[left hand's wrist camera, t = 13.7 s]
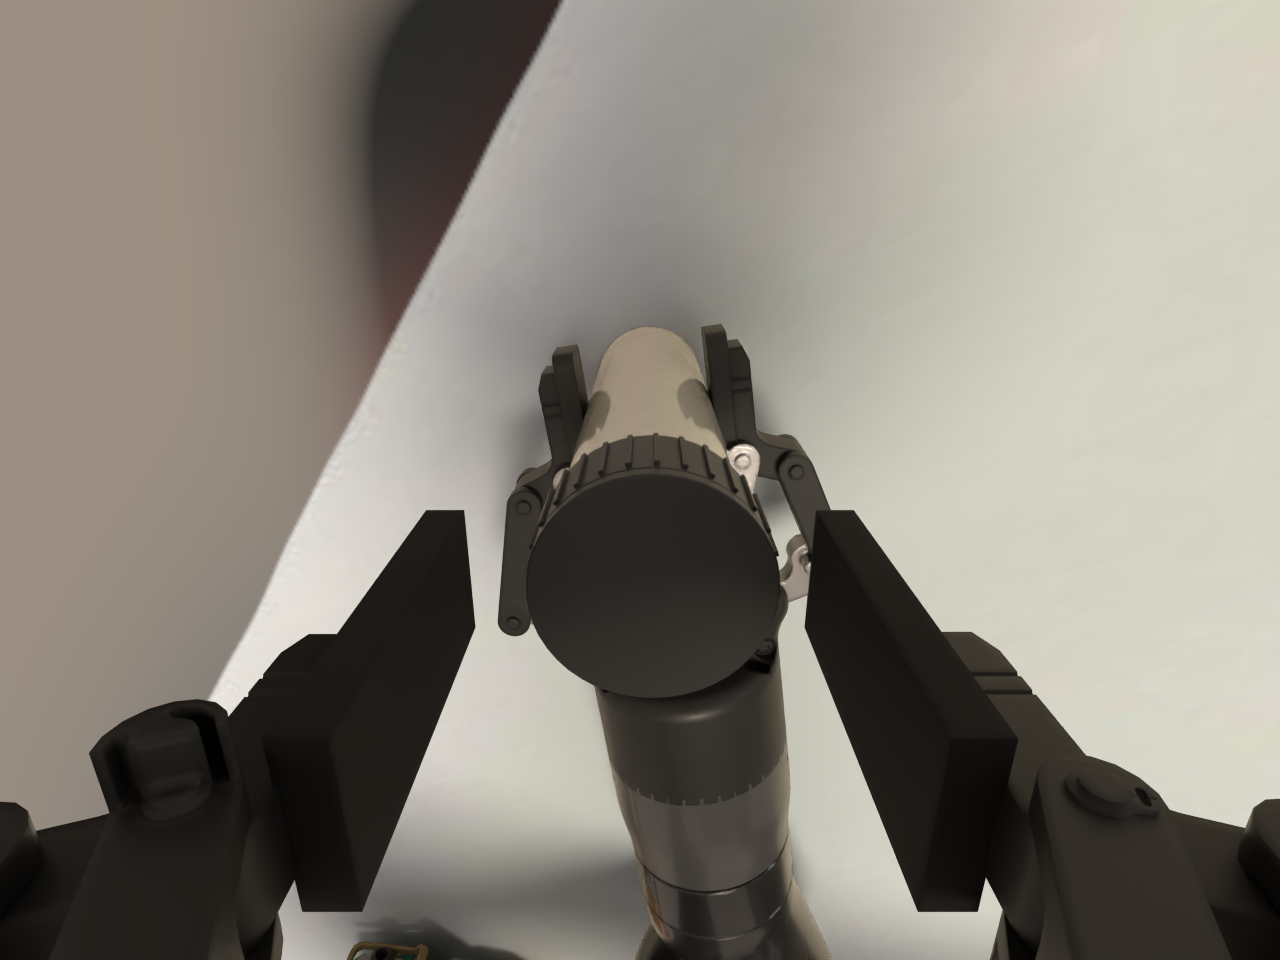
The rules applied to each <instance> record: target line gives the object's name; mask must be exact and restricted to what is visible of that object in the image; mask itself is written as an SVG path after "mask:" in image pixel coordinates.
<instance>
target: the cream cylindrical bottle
mask: <svg viewBox="0 0 1280 960" xmlns="http://www.w3.org/2000/svg"><path fill="white" fill-rule="evenodd" d="M653 433H659V436H670V437H675V438H679V436H683V437H684V439H685V440H687V441H690V442H694V443H696V444H698V445H701V446H703V444H705V445H707V446H708V447H709V450H711V451H712V452H714V453H716V454H717V455H719V456H720V457H722V458H723V459H724V458H725V457H726V458H728V459H729V461H730V464H731V466H732V467H733V465H732V462H731V459H730V456H729V453H728V450H727V447H726V444H725V442H724V439H723V436H722V433H721V430H720V427H719V424H718V421H717V418H716V415H715V412H714V409H713V406H712V403H711V400H710V397H709V394H708V391H707V388H706V385H705V382H704V379H703V376H702V373H701V370H700V367H699V364H698V362H697V359H696V356H695V354H694V352H693V351H692V349H691V348H690V346H689V345H688V344H687V343H686V342H685V341H684V340H683V339H682V338H681V337H680V336H678V335H677V334H675V333H673V332H671V331H669V330H666V329H663V328H658V327H641V328H636V329H633V330H630V331H628V332H626V333H624V334H622V335H621V336H620V337H618V338H617V339H616V340H615V341H614V342H613V343H612V344H611V345H610V346H609V347H608V349H607V351H606V352H605V354H604V356H603V358H602V361H601V364H600V368H599V371H598V374H597V378H596V381H595V384H594V388H593V391H592V394H591V398H590V401H589V404H588V407H587V411H586V414H585V417H584V421H583V424H582V427H581V431H580V434H579V437H578V441H577V444H576V447H575V451H574V454H573V457H572V460H571V464H570V467H569V469H570V468H571V467H572V466H573V465H574V464H576V463H577V462H578V461H579V460H580V457H581V455H582V454H584V453H585V454H586V455H587V454H589V453H590V452H592V451H593V450H595V449H598V448H600V447H602V445H603V443H604V442H606V441H608V443H611V442H614V441H617V440H620V439H624V438H627V436H628V435H633V437H634V436H645V435H653Z"/></svg>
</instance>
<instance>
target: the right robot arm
mask: <svg viewBox="0 0 1280 960" xmlns="http://www.w3.org/2000/svg"><path fill="white" fill-rule="evenodd" d="M701 333H702V342H703V351H704V360H705V369H706V378H707V387H708V394H709V397H710V400H711V403H712V406H713V409H714V412H715V415H716V418H717V421H718V424H719V427H720V430H721V433H722V436H723V439H724V442H725V444H726V447H727V450H728V453H729V456H730V459H731V462H732V465H733V468H734V469H735V470H736V471H737V472H738V473H739V474H740V475H742V474H744V475H745V476H746V479H747V481H748V484H749V487H750V489H751V492H752V495H753V491H754V487H755V482H756V478H757V476H759V477H764V478H769V479H774V480H779V482H780V484H781V487H782V489H783V492H784V494H785V496H786V499H787V501H788V504H789V506H790V508H791V511H792V513H793V516H794V518H795V520H796V523H797V525H798V528H799V530H800V532H801V534H799V535H795V536H794V537H793V538H792V539H791V540H790V541H789V542H788V544H787V547H786V552H787V562H786V564H785V566H784V567H783V568H782V569H781V570H779V573H780V597H779V604H778V609H777V612H776V616H775V619H774V622H773V624H772V626H771V628H770V630H769V633H768V634H767V636H766V638H765V639H764V641H763V642H762V644H761V646H760V647H759V648H758V649H757V651H756V652H755V653H754V654H753V655H752V657H751V658H750V659H749V660H748V661H746V662H745V663H744V664H743V665H742V666H741V667H740V668H739V669H737V670H736V671H735V672H733V673H732V674H730V675H729V676H728V677H726V678H724V679H722V680H721V681H719V682H717V683H715V684H713V685H711V686H708V687H706V688H703V689H701V690H698V691H695V692H691V693H688V694H684V695H678V696H672V697H661V698H645V697H634V696H627V695H622V694H618V693H614V692H611V691H607V690H605V689H602V688H600V687H597V686H595V685H594V686H595V691H596V696H597V700H598V705H599V710H600V715H601V720H602V725H603V730H604V735H605V740H606V745H607V750H608V755H609V760H610V765H611V769H612V774H613V779H614V784H615V789H616V794H617V798H618V802H619V806H620V809H621V813H622V816H623V818H624V821H625V824H626V826H627V829H628V831H629V833H630V836H631V839H632V843H633V848H634V853H635V858H636V863H637V868H638V873H639V878H640V883H641V888H642V893H643V897H644V902H645V906H646V909H647V912H648V915H649V917H650V920H651V924H650V925H649V926H648V928H647V930H646V932H645V934H644V936H643V938H642V941H641V943H640V946H639V949H638V951H637V954H636V957H635V960H832V958H831V956H830V953H829V950H828V948H827V945H826V943H825V941H824V939H823V937H822V934H821V932H820V930H819V928H818V926H817V924H816V922H815V920H814V918H813V916H812V913H811V911H810V909H809V907H808V905H807V903H806V900H805V898H804V896H803V894H802V891H801V889H800V888H799V886H798V884H797V882H796V880H795V878H794V876H793V868H792V855H791V845H790V834H789V823H788V810H789V801H790V770H789V759H788V749H787V738H786V726H785V714H784V703H783V692H782V681H781V670H780V659H779V648H778V631H779V628H780V625H781V623H782V621H783V619H784V617H785V615H786V613H787V610H788V602H791V601H793V600H796V599H799V598H801V597H804V596H807V595H808V587H809V577H810V567H811V556H812V546H813V535H814V525H815V515H816V510H831V509H830V507H829V504H828V502H827V499H826V497H825V494H824V492H823V489H822V487H821V484H820V482H819V479H818V476H817V474H816V471H815V469H814V466H813V464H812V462H811V461H810V459H809V458H808V456H807V454H806V453H805V451H804V450H803V448H802V447H801V445H800V444H799V442H798V441H797V440H796V438H794V437H793V436H791V435H787V434H783V435H779V436H775V435H770V434H765V433H762V432H760V431H759V430H757V429H756V425H755V414H754V403H753V392H752V381H751V370H750V360H749V358H748V356H747V355H746V353H745V351H744V349H743V347H742V345H741V344H740V343H739V341H738V340H737V339H735V340H728V341H727V336H726V332H725V329H724V328H723V326H722V325H721V324H719V325H712V326H705V327H701ZM552 362H553V365H552V366H547V367H546V368H545V370H544V371H543V373H542V374H541V379H540V384H539V389H538V391H539V396H540V401H541V405H542V411H543V415H544V420H545V425H546V430H547V435H548V440H549V445H550V450H551V455H552V459H551V460H550V461H549V462H548V463H546V464H544V465H542V466H540V467H538V468H528V469H526V470H524V471H523V472H522V473H521V475H520V476H519V478H518V481H517V485H516V488H515V490H514V491H513V492H512V493H511V495H510V497H509V499H508V502H507V510H506V523H505V535H504V548H503V561H502V574H501V587H500V600H499V613H498V625H499V627H500V629H501V630H502V631H503V632H504V633H506V634H508V635H511V636H519V635H522V634H524V633H525V632H526V631H527V630H528V629H529V626H530V624H533V622H532V619H531V616H530V613H529V610H528V605H527V599H526V573H525V568H526V565H527V562H528V559H529V556H530V553H531V549H528V548H529V544H530V541H531V538H532V536H533V533H534V530H535V527H536V524H537V521H538V519H539V516H540V513H541V510H542V509H543V508H544V505H545V502H546V499H547V496H548V493H549V491H550V489H551V488H553V489H555V488H556V486H557V484H558V483H559V481H560V479H561V476H562V473H563V471H564V470H565V469H567V470H569V467H570V464H571V460H572V457H573V454H574V451H575V447H576V444H577V441H578V437H579V434H580V431H581V427H582V424H583V421H584V417H585V414H586V411H587V407H588V404H589V403H588V397H587V392H586V386H585V380H584V375H583V369H582V364H581V358H580V353H579V349H578V346H577V345H572V346H565V347H558V348H557V349H556V350H555V352H554V353H553V356H552Z"/></svg>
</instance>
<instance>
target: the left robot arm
mask: <svg viewBox="0 0 1280 960" xmlns="http://www.w3.org/2000/svg"><path fill="white" fill-rule="evenodd" d="M474 629H475V618H474V608H473V598H472V587H471V577H470V567H469V556H468V546H467V535H466V525H465V515H464V510H426V511H425V513H424V514H423V516H422V517H421V518H420V520H419V521H418V522H417V524H416V525H415V527H414V528H413V529H412V531H411V532H410V534H409V535H408V536H407V538H406V539H405V540H404V542H403V543H402V545H401V546H400V547H399V549H398V550H397V552H396V553H395V554H394V556H393V557H392V559H391V560H390V561H389V563H388V564H387V565H386V567H385V568H384V570H383V571H382V572H381V574H380V575H379V577H378V578H377V579H376V581H375V582H374V583H373V585H372V586H371V588H370V589H369V590H368V592H367V593H366V595H365V596H364V597H363V599H362V600H361V601H360V603H359V604H358V606H357V607H356V608H355V610H354V611H353V613H352V614H351V615H350V617H349V618H348V619H347V621H346V622H345V624H344V625H343V626H342V628H341V629H340V631H339V632H338V633H337V634H308V635H307V636H305V637H304V638H302V639H301V640H299V641H298V642H296V643H295V644H293V645H292V646H290V647H289V648H287V649H286V650H284V651H283V652H281V653H280V655H279V656H278V657H277V658H276V659H275V661H274V662H273V663H272V664H271V666H270V667H269V668H268V669H267V670H266V672H265V673H264V674H263V679H259V680H258V681H257V683H256V684H255V685H254V686H253V687H252V689H251V690H250V691H249V692H248V697H244V698H243V700H242V701H241V702H240V703H239V705H238V706H237V707H236V708H235V709H234V711H233V712H232V713H231V714H230V716H229V717H228V714H227V711H226V710H225V709H224V708H223V707H221V706H220V705H219V704H217V703H216V702H211V701H205V700H199V699H195V700H185V701H175V702H171V703H168V704H164V705H161V706H158V707H154V708H150V709H147V710H145V711H143V712H141V713H139V714H137V715H135V716H133V717H131V718H129V719H127V720H125V721H123V722H121V723H120V724H119V725H117V726H116V727H114V728H113V729H112V730H110V731H109V732H108V733H106V734H105V735H104V736H102V737H101V739H100V740H99V741H98V742H97V744H96V745H95V746H94V747H93V749H92V750H91V751H90V753H89V755H90V758H91V760H92V763H93V766H94V769H95V772H96V775H97V778H98V781H99V783H100V786H101V789H102V792H103V795H104V798H105V800H106V803H107V806H108V809H109V814H106V815H102V816H99V817H94V818H90V819H86V820H81V821H77V822H73V823H68V824H64V825H60V826H55V827H51V828H47V829H42V830H38V831H36V830H35V828H34V825H33V823H32V821H31V818H30V815H29V813H28V811H27V810H26V809H24V808H23V807H21V806H20V805H18V804H17V803H12V802H0V960H281V956H282V946H283V935H282V928H281V922H280V918H279V914H278V911H279V909H280V907H281V905H282V903H283V901H284V899H285V897H286V895H287V893H288V891H289V890H290V888H291V886H292V884H293V882H294V880H295V883H296V887H297V891H298V895H299V900H300V904H301V908H302V912H362V911H363V908H364V906H365V903H366V901H367V898H368V896H369V893H370V890H371V888H372V885H373V883H374V880H375V878H376V875H377V873H378V870H379V868H380V865H381V863H382V860H383V858H384V855H385V853H386V850H387V848H388V845H389V843H390V840H391V838H392V835H393V833H394V830H395V828H396V825H397V823H398V820H399V818H400V815H401V813H402V810H403V808H404V805H405V803H406V800H407V798H408V795H409V793H410V790H411V788H412V785H413V783H414V780H415V778H416V775H417V773H418V770H419V768H420V765H421V763H422V760H423V757H424V755H425V752H426V750H427V747H428V745H429V742H430V740H431V737H432V735H433V732H434V730H435V727H436V725H437V722H438V720H439V717H440V715H441V712H442V710H443V707H444V705H445V702H446V700H447V697H448V695H449V692H450V690H451V687H452V685H453V682H454V680H455V677H456V675H457V672H458V670H459V667H460V665H461V662H462V660H463V657H464V655H465V652H466V650H467V647H468V645H469V642H470V640H471V637H472V635H473V632H474ZM805 629H806V632H807V635H808V637H809V640H810V642H811V645H812V647H813V650H814V652H815V655H816V657H817V660H818V662H819V665H820V667H821V670H822V672H823V675H824V677H825V680H826V682H827V685H828V687H829V690H830V692H831V695H832V697H833V700H834V702H835V705H836V707H837V710H838V712H839V715H840V717H841V720H842V722H843V725H844V727H845V730H846V732H847V735H848V737H849V740H850V742H851V745H852V747H853V750H854V752H855V755H856V757H857V760H858V763H859V765H860V768H861V770H862V773H863V775H864V778H865V780H866V783H867V785H868V788H869V790H870V793H871V795H872V798H873V800H874V803H875V805H876V808H877V810H878V813H879V815H880V818H881V820H882V823H883V825H884V828H885V830H886V833H887V835H888V838H889V840H890V843H891V845H892V848H893V850H894V853H895V855H896V858H897V860H898V863H899V865H900V868H901V870H902V873H903V875H904V878H905V880H906V883H907V885H908V888H909V891H910V893H911V896H912V898H913V901H914V903H915V906H916V908H917V911H918V912H978V908H979V904H980V900H981V895H982V891H983V887H984V883H985V879H986V878H987V880H988V882H989V884H990V886H991V888H992V890H993V892H994V894H995V896H996V897H997V899H998V901H999V903H1000V905H1001V907H1002V909H1003V911H1002V914H1001V918H1000V922H999V926H998V930H997V934H996V938H995V942H994V946H993V950H992V954H991V958H990V960H1280V799H1269V800H1264V801H1263V802H1261V803H1260V804H1258V805H1257V806H1256V807H1254V808H1253V810H1252V813H1251V815H1250V818H1249V820H1248V823H1247V825H1246V828H1242V827H1238V826H1234V825H1229V824H1225V823H1221V822H1216V821H1212V820H1208V819H1203V818H1199V817H1195V816H1190V815H1186V814H1182V813H1178V812H1175V811H1172V810H1169V808H1168V807H1167V805H1166V804H1165V802H1164V801H1163V799H1162V798H1161V797H1160V795H1159V794H1158V793H1157V792H1156V791H1155V790H1153V789H1152V788H1151V787H1150V786H1149V785H1147V784H1146V783H1145V782H1144V781H1143V780H1141V779H1140V778H1139V777H1137V776H1135V775H1134V774H1132V773H1130V772H1128V771H1126V770H1124V769H1123V768H1121V767H1119V766H1117V765H1115V764H1112V763H1109V762H1106V761H1103V760H1100V759H1097V758H1094V757H1091V756H1086V755H1085V754H1084V752H1083V751H1082V750H1081V749H1080V748H1079V746H1078V745H1077V744H1076V743H1075V741H1074V740H1073V739H1072V738H1071V737H1070V735H1069V734H1068V733H1067V732H1066V731H1065V729H1064V728H1063V727H1062V726H1061V724H1060V723H1059V722H1058V721H1057V720H1056V718H1055V717H1054V716H1053V715H1052V714H1051V712H1050V711H1049V710H1048V709H1047V707H1046V706H1045V705H1044V704H1043V703H1042V701H1041V700H1040V699H1039V698H1038V697H1037V695H1033V694H1032V689H1031V688H1030V687H1029V686H1028V684H1027V683H1026V682H1025V681H1024V680H1023V678H1022V677H1021V676H1018V675H1017V671H1016V670H1015V669H1014V667H1013V666H1012V665H1011V664H1010V663H1009V661H1008V660H1007V659H1006V658H1005V657H1004V655H1003V654H1002V653H1001V652H1000V650H998V649H997V648H995V647H993V646H992V645H990V644H989V643H987V642H986V641H984V640H983V639H981V638H980V637H978V636H977V635H975V634H974V633H972V632H941V631H940V629H939V628H938V626H937V625H936V624H935V622H934V621H933V619H932V618H931V617H930V615H929V614H928V613H927V611H926V610H925V608H924V607H923V606H922V604H921V603H920V601H919V600H918V599H917V597H916V596H915V595H914V593H913V592H912V590H911V589H910V588H909V586H908V585H907V583H906V582H905V581H904V579H903V578H902V577H901V575H900V574H899V572H898V571H897V570H896V568H895V567H894V565H893V564H892V563H891V561H890V560H889V559H888V557H887V556H886V554H885V553H884V552H883V550H882V549H881V547H880V546H879V545H878V543H877V542H876V541H875V539H874V538H873V536H872V535H871V534H870V532H869V531H868V529H867V528H866V527H865V525H864V524H863V522H862V521H861V520H860V518H859V517H858V516H857V514H856V513H855V511H854V510H816V515H815V525H814V535H813V546H812V556H811V567H810V577H809V587H808V598H807V608H806V618H805Z"/></svg>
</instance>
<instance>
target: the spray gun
mask: <svg viewBox="0 0 1280 960" xmlns="http://www.w3.org/2000/svg"><path fill="white" fill-rule="evenodd" d="M363 949H369V950H375V951H374V952H373V954H369V953H366V954H363V955H360V956H359V957H357V958H356V959H355V960H441V959H440V958H438V957H437V956H435V955H434V954H433V953H431V952H428V947H427V946H425V945H423V944H419V945H418V946H417V947H408V946H400V945H391V944H383V943H375V942H366V941H365V942H359V943H358V944H356V945H355V946H354V947H353V948H352V950H351V951H350V953H349V956H348V958H347V960H353V959H354V957H355V955H356V954H357V952H359V951H360V950H363ZM402 953H404V954H406V955H405V956H404V958H402ZM411 954H413V955H418V956H417V957H416V958H415V959H414V958H413V956H412V955H411Z"/></svg>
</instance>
